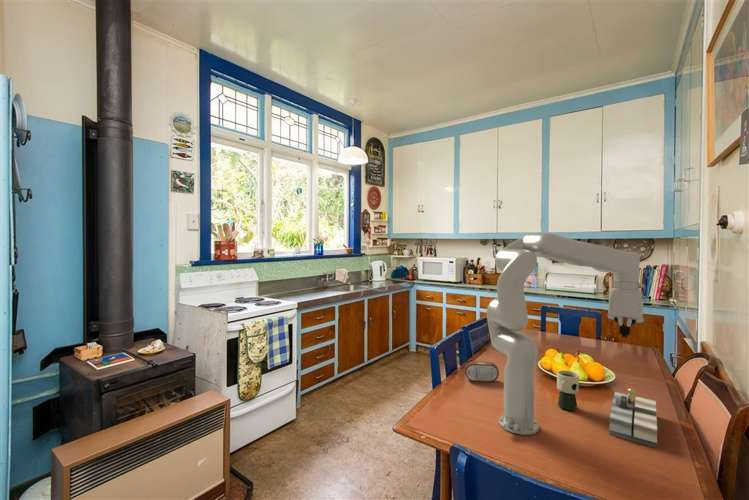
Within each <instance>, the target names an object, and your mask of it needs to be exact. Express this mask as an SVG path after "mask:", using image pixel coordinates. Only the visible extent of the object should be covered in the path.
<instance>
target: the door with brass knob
mask: <svg viewBox="0 0 749 500" xmlns="http://www.w3.org/2000/svg"><path fill="white" fill-rule="evenodd" d="M636 394H637V390H636V389H635V388H633V387H628V388H627V395H628V401H627V403H626V407H630V408H634V409H635V401H636ZM615 404H617V405H621V400H620V399H616V400H615Z"/></svg>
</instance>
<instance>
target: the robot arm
mask: <svg viewBox="0 0 749 500" xmlns="http://www.w3.org/2000/svg"><path fill="white" fill-rule="evenodd" d="M537 257H539V258H543V259H549V260H552V261H557V262H561V263H564V264H567V265H572V266H577V267H587V268H588V267H589V268H592V269H593V270H595V271H597V272H602V273H610V274H611V273H612V274H613V280H612V282H613V284H612V286H613V287H612V288H610V291H609V297H608V307H607V311H608V313H607V315H606V316H607V317H606V318H608V319H609V320H612V321H615V322H616V323H617V324H618V325H619V334H620V335H621V337H622V338H625V339H626V338H628V337H629V336H630V335H631V327H632V326H633V325H634V324H637V323H644V321H645V319H644V297H643V292H642V290H641V289H643V288H645V284H644V283H641V282H640V258H641V257H640V254H639V253H638V252H635V251H624V250H622V249H618V248H613V247H609V246H605V245H599V244H594V243H591V242H585V241H580V240H576V239H572V238H570V237H565V236H561V235H559V234H555V233H550V232H533V233H532V232H530V233H527V234H525V235H523V236H522V237H520V238H518V239H516V240H515V241H513V242H511V243H510V244H508V245H507V246H505V247H503V248H502V249H500V250H499V251H498V252H497V253H496V255H495V257H494V264H495V267H496V268H497V269H498V270H499V271H501V273H500V274H499V277H498V279H497V281H496V282H497V283H496V296H497V297H496V298H494V299H492V300H491V301H490V302H489V304H488V305H487V308H486V321H487V326H488V332H489V337H490V341H491V345H492V346H493V348H494V349H495V350H496V351H497V352H499V353H500V354H502V355H504V356H505V357H507V360H506V363H505V366H504V370H503V414H501V415H500V416H499V418H498V423H499V425H500V427H501V428H502V429H504V430H505V431H508V432H510V433H513V434H514V435H515V434H516V435H520V436H530V435H534V434H537V433H538V432H539V430H540V426H539V422H538V421H537V420H536V419H535V367H536V362H537V358H538V353H539V352H538V345H537V343H536V341H534V339H533V338H532V337H530V336H528V335H527V334H525V333H522V332H520V331H522V330H524V329H526V327H527V325H528V322H529V318H528V317H529V315H528V311H527V310H528V309H527V304H526V299H525V289H524V287H525V283H526V281H527V279H528V278H529V277H530V276H531V274H532V273H533V272H534V271H535V269H536V268H537V265H538V258H537ZM624 319H627V321H626V323H624Z"/></svg>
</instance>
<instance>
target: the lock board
mask: <svg viewBox="0 0 749 500" xmlns="http://www.w3.org/2000/svg"><path fill="white" fill-rule="evenodd" d="M616 399H620V400H621V405H617V404H615V400H616ZM627 401H628V394H626V393H621V392H617V391H614V395H613V401H612V405H611V409H610V414H609V429H608V430H609V433H608V434H609V435H610V436H613V437H616V438H620V439H624V440H628V441H631V442H634V443H639V444H640V445H641V444H642V445H645V446H650V447H653V448H655V449H656V448H658V420H657V419H658V417H657V401H656V400H654V399H647V398H643V397H639V396H635V409H634V408H630V407H626V403H627Z"/></svg>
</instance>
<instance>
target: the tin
mask: <svg viewBox="0 0 749 500" xmlns="http://www.w3.org/2000/svg"><path fill="white" fill-rule="evenodd" d="M499 370H500V369H498V367H497V365H496V364H495V363H494V362H490V361H470V362H468V363H466V364H465V366H464V367H463V372H464V375H465V377H466V379H468V381H471V382H480V383H481V382H482V383H483V382H484V383H487V382H488V383H493V382H495V381H497V379H498V378H499V375H500V371H499Z"/></svg>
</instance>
